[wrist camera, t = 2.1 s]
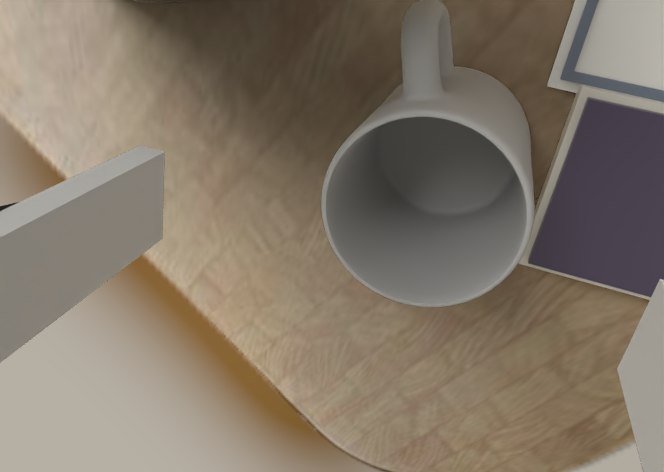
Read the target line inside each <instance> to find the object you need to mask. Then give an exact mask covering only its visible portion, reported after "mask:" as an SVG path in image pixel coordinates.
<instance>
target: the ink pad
mask: <svg viewBox="0 0 664 472" xmlns="http://www.w3.org/2000/svg"><path fill="white" fill-rule="evenodd" d="M519 264H521V265H525V266H529V267H532V268H536V269H539V270H543V271H547V272H550V273H554V274H558V275H561V276H565V277H568V278H572V279H576V280H579V281H583V282H586V283H590V284H594V285H597V286H601V287H605V288H608V289H612V290H615V291H619V292H623V293H626V294H630V295H633V296H637V297H641V298H644V299H648V300H650V299H651V297H652V295H653V292H654V290H655V288H656V286H657V284H658V282H659V280H660V279H662V280H664V102H661V101H656V100H652V99H647V98H643V97H638V96H634V95H629V94H625V93H620V92H615V91H611V90H606V89H602V88H597V87H593V86H588V85H584V84H580V85H579V88H578V91H577V93H576V95H575V98H574V101H573V104H572V106H571V109H570V112H569V115H568V118H567V120H566V123H565V126H564V129H563V132H562V134H561V137H560V140H559V143H558V146H557V148H556V151H555V154H554V157H553V160H552V162H551V165H550V168H549V171H548V174H547V176H546V179H545V182H544V185H543V188H542V190H541V193H540V196H539V199H538V202H537V204H536V207H535V213H534V225H533V229H532V233H531V238H530V241H529V243H528V246H527V248H526V251H525V253H524V254H523V256H522V258H521V260H520V261H519Z"/></svg>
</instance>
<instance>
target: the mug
mask: <svg viewBox="0 0 664 472" xmlns="http://www.w3.org/2000/svg"><path fill="white" fill-rule="evenodd" d="M401 59H402V74H403V83H402V84H401V85H399V86H398V87H397V88H396V89H395V90H394V91H393V92H392V93H391V94H390V95H389V96H388V97H387V98H386V99H385V101H384V102H383V103H382V104H381V105H380V106H379V107H378V108H377V109H376V110H375V111H374V112H373V113H372V114H371V115H370V116H369V117H368V118H367V119H366V120H365V121H364V122H363V123H362V124H361V125H360V126H359V127H358V128H357V129H356V130H355V131H354V132H353V133H352V134H351V135H350V136H349V137H348V138H347V139H346V140H345V141H344V142H343V144H342V145H341V147H340V148H339V149H338V151H337V152H336V154H335V155H334V157H333V159H332V161H331V163H330V165H329V167H328V170H327V173H326V176H325V179H324V183H323V188H322V197H321V209H322V219H323V224H324V229H325V232H326V235H327V238H328V241H329V243H330V245H331V247H332V249H333V251H334V253H335V254H336V256H337V257H338V259H339V260H340V262H341V263H342V264H343V265H344V267H345V268H346V269H347V270H348V271H349V272H350V273H351V274H352V275H353V276H354V277H355V278H356V279H357V280H358V281H359V282H361V283H362V284H363V285H365V286H366V287H367V288H369V289H370V290H372V291H374V292H376V293H377V294H379V295H381V296H383V297H386V298H388V299H390V300H393V301H396V302H399V303H402V304H407V305H412V306H419V307H445V306H452V305H457V304H461V303H464V302H468V301H470V300H473V299H475V298H478V297H480V296H482V295H483V294H485V293H487V292H489V291H490V290H492V289H493V288H495V287H496V286H497V285H499V284H500V283H501V282H502V281H503V280H504V279H505V278H506V277H507V276H508V275H509V274H510V273H511V272H512V271H513V270H514V268H515V267H516V266H517V264H518V263H519V261H520V260H521V258H522V256H523V254H524V253H525V251H526V248H527V246H528V243H529V241H530V238H531V233H532V229H533V225H534V213H535V203H534V189H533V176H532V164H531V137H530V129H529V125H528V121H527V118H526V116H525V113H524V111H523V109H522V107H521V105H520V103H519V101H518V100H517V99H516V97H515V96H514V95H513V93H512V92H511V91H510V90H509V89H508V88H507V87H506V86H505V85H503V84H502V83H501V82H499V81H498V80H497V79H495V78H493V77H492V76H490V75H488V74H486V73H484V72H481V71H479V70H475V69H471V68H467V67H459V66H454V63H453V49H452V34H451V24H450V18H449V13H448V10H447V8H446V6H445V5H444V4H443V3H442V2H441V1H438V0H421V1H418V2H416V3H414V4H413V5H411V6H410V7H409V9H408V10H407V12H406V13H405V15H404V18H403V22H402V28H401Z"/></svg>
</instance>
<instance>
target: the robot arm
mask: <svg viewBox="0 0 664 472" xmlns="http://www.w3.org/2000/svg"><path fill="white" fill-rule="evenodd" d="M132 1H138V2H144V3H168V2H180V1H188V0H132ZM164 165H165V151H161V150H157V149H153V148H149V147H145V146H141V145H140V146H138V147H136V148H133V149H131V150H129V151H127V152H125V153H123V154H121V155H119V156H116V157H114V158H112V159H110V160H108V161H106V162H104V163H102V164H99V165H97V166H95V167H93V168H91V169H89V170H87V171H85V172H82V173H80V174H78V175H76V176H74V177H72V178H70V179H68V180H65V181H63V182H61V183H59V184H57V185H55V186H53V187H51V188H49V189H47V190H44V191H42V192H40V193H38V194H36V195H34V196H32V197H30V198H27V199H25V200H23V201H21V202H18V203H13V204H9V205H4V206H0V362H2V361H3V360H4V359H6V358H7V357H8V356H10V355H11V354H12V353H13V352H15V351H16V350H17V349H19V348H20V347H21V346H23V345H24V344H25V343H27V342H28V341H29V340H31V339H32V338H33V337H34V336H36V335H37V334H38V333H40V332H41V331H42V330H43V329H45V328H46V327H48V326H49V325H50V324H51V323H53V322H54V321H55V320H57V319H58V318H59V317H61V316H62V315H63V314H65V313H66V312H67V311H68V310H70V309H71V308H72V307H74V306H75V305H76V304H77V303H79V302H80V301H82V300H83V299H84V298H85V297H87V296H88V295H89V294H91V293H92V292H93V291H94V290H96V289H97V288H98V287H100V286H101V285H102V284H104V283H105V282H106V281H108V280H109V279H110V278H112V277H113V276H114V275H116V274H117V273H118V272H119V271H121V270H122V269H123V268H125V267H126V266H127V265H129V264H130V263H131V262H133V261H134V260H135V259H136V258H138V257H139V256H140V255H142V254H143V253H144V252H146V251H147V250H148V249H150V248H151V247H152V246H153V245H155V244H156V243H157V242H159V241H160V240H161V239H162V236H163V201H164ZM617 371H618V375H619V379H620V383H621V387H622V391H623V394H624V398H625V402H626V406H627V410H628V414H629V418H630V422H631V426H632V430H633V434H634V438H635V442H636V446H637V449H638V454H639V457H640V462H641V465H642V469H643V472H664V280H662V279H660V280H659V282H658V284H657V286H656V288H655V290H654V292H653V295H652V297H651V299H650V301H649V303H648V305H647V307H646V309H645V311H644V313H643V316H642V318H641V320H640V322H639V324H638V326H637V328H636V330H635V332H634V335H633V337H632V339H631V341H630V343H629V345H628V347H627V349H626V351H625V353H624V356H623V358H622V360H621V362H620V364H619V366H618V368H617Z"/></svg>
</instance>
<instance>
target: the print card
mask: <svg viewBox="0 0 664 472" xmlns="http://www.w3.org/2000/svg"><path fill="white" fill-rule="evenodd" d="M580 84H584V85H588V86H593V87H597V88H602V89H606V90H611V91H615V92H620V93H625V94H629V95H634V96H638V97H643V98H647V99H652V100H656V101H661V102H664V0H575V2H574V5H573V8H572V11H571V14H570V17H569V20H568V23H567V26H566V29H565V32H564V35H563V38H562V41H561V44H560V47H559V50H558V53H557V56H556V59H555V62H554V65H553V68H552V71H551V74H550V77H549V80H548V83H547V87H552V88H556V89H561V90H565V91H570V92H574V93H577V91H578V88H579V85H580Z"/></svg>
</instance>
